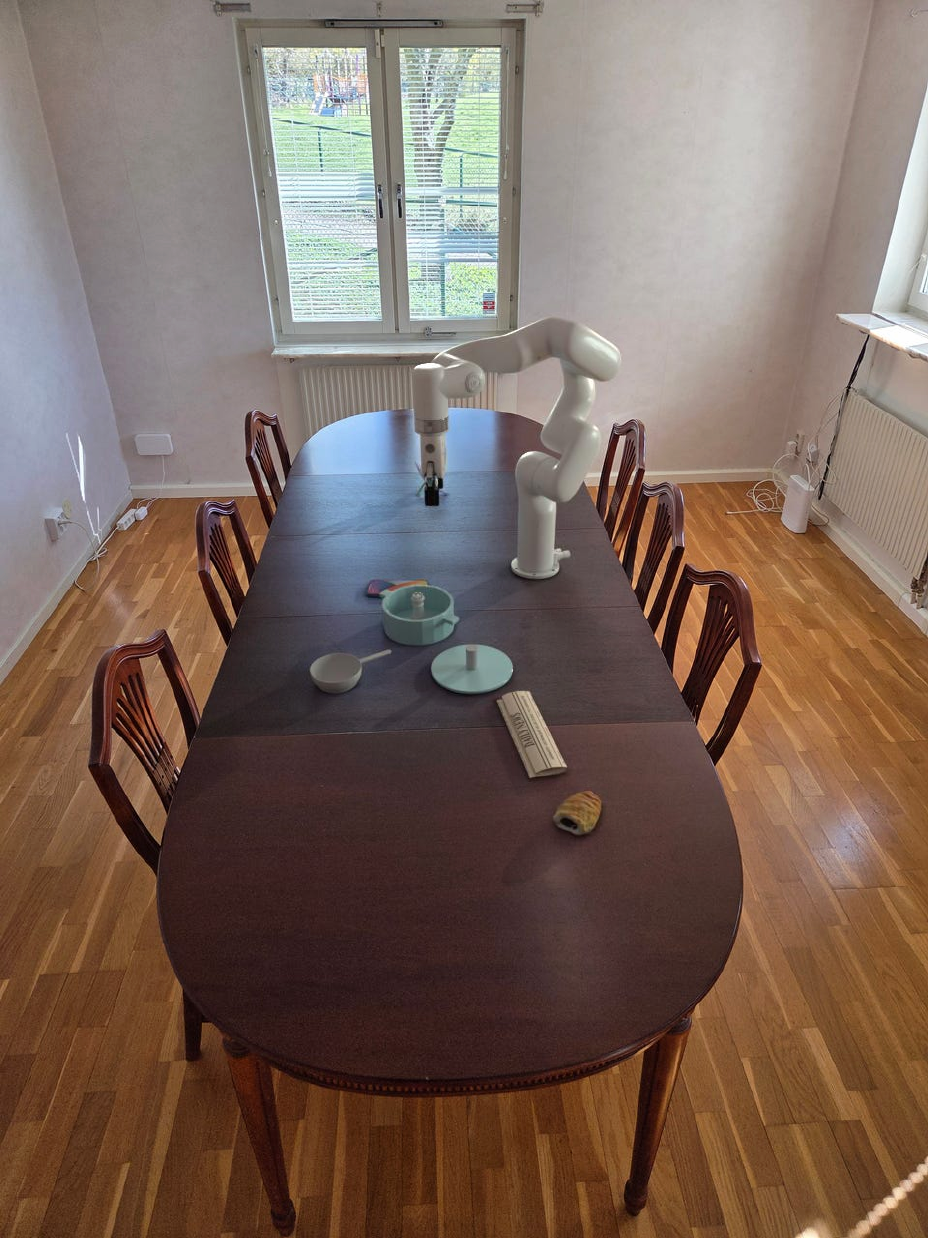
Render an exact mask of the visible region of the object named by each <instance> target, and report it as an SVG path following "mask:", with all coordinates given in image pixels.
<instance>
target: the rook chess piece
mask: <svg viewBox="0 0 928 1238" xmlns="http://www.w3.org/2000/svg"><path fill="white" fill-rule="evenodd" d="M424 599H425V597H424V596H423V593H422V594H421V592H419V594H417V592H415V594H414V593H413V594H412V597H411V600H412V601H413V603H412V605H413V613H412V615H411V617H410V620H422V619H427V618H428V617H427V615H426V614H425V612H424V607H423V605H424V602H423V601H424Z"/></svg>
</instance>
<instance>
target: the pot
mask: <svg viewBox="0 0 928 1238" xmlns="http://www.w3.org/2000/svg"><path fill="white" fill-rule="evenodd" d="M415 592H417V594H419V592H421V594H422V593H423V596H424V597H425V599H424V601H423V602H424V605H423V607H424V612H425V614H426V615H427V617H428V618H427V619H422V620H410V617H411V615H412V613H413V605H412V603H413V601H412V600H411V597H412V594H413V593H414V594H415ZM379 596H380V597H379V598H381V599H382V601H381V612H382V613H381V616H382V627H383V631H384V633H385V636H387V637H388V638H389V639H390V640H392V641H393V642H396V643H399V644H401V645H406V646H428V645H432V644H436V643H438V642H441V641H443V640H445V639H447V638H448V637H449V636H450V635H451V634H453V632H454V629H455V624H457V623H458V622H459V621H460V617H459V616H457V615H455V599H454V597H453V596H452V594H451V593H450V592H449V591H447V590H445V589H444V588H441V587H438V586H435V585H429V584H428V585H411V586H405V587H401V588H398V589H396V590H394V591H392V592H391V591H389V590H384V591H382V592H381V593H379Z"/></svg>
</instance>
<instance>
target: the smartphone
mask: <svg viewBox="0 0 928 1238" xmlns="http://www.w3.org/2000/svg"><path fill="white" fill-rule="evenodd" d="M411 585H429V581H428V580H427V579H371V580H370V581H369V583H368V586H367V589H366V596H367V597H379V598H381V597H380V596H379V593H381V592H382V591H384V590H389V591H391V592H392V591H394V590H396V589H398V588H401V587H405V586H411Z"/></svg>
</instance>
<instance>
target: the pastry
mask: <svg viewBox="0 0 928 1238" xmlns="http://www.w3.org/2000/svg"><path fill="white" fill-rule="evenodd" d="M601 810H602V800H601V798H600V797H599V796H598V795H597V794H595V793H594V792H592V791H591V790H587V791H586V790H585V791H581V792H576V793H575V794H571V795H570V796H569V798H566V799H565V800H564V801H563V803H561V804H559V805H558V806H557V809H556V812H555V814H554V815H553V816H552V821H553V823H554V824H555V825H556V827H558V828H559V829H562V830H564V831H567V832H570V833H572V834H574V835H576V836H583V835H586V834H589V833H591V832H592V830H594V828H595V826H596V824H597V822H598V820H599V817H600V814H601Z"/></svg>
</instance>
